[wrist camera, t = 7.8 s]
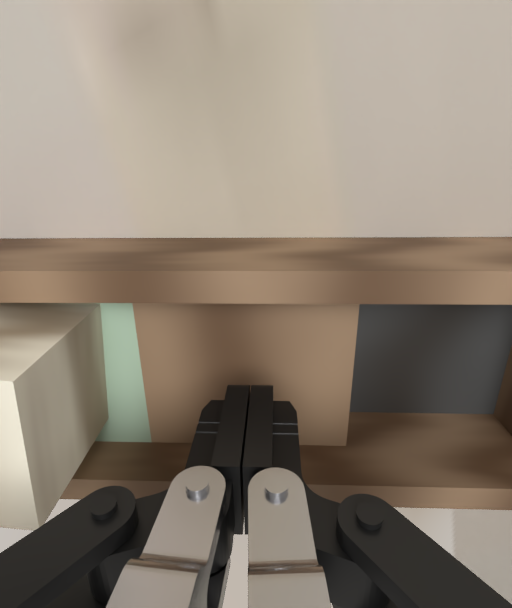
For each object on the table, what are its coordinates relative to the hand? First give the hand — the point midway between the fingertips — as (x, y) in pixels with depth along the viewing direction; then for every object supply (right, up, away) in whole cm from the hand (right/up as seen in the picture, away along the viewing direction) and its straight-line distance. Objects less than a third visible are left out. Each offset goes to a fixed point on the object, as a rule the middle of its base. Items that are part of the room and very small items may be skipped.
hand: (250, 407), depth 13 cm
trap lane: (-3, +2, +4) cm, 6 cm away
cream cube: (-8, +1, +2) cm, 8 cm away
